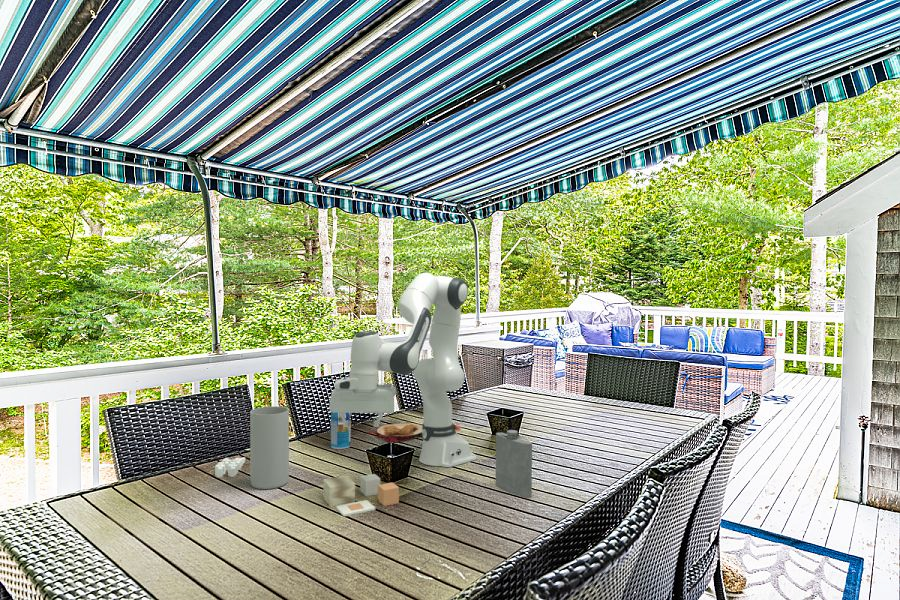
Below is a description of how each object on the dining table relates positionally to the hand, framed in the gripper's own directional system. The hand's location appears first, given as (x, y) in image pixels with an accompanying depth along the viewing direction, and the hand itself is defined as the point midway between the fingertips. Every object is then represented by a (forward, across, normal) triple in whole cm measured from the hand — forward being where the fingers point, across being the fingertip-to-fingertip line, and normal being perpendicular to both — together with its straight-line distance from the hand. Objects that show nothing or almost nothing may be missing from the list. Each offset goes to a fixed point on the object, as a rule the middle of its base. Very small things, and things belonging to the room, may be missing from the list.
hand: (360, 426), depth 174 cm
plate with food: (+19, -24, -77) cm, 83 cm away
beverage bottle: (+21, +3, -61) cm, 64 cm away
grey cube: (+23, -5, -8) cm, 25 cm away
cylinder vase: (+24, +28, -23) cm, 43 cm away
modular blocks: (+24, +43, -41) cm, 64 cm away
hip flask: (+21, -51, 0) cm, 55 cm away
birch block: (+24, +5, -4) cm, 25 cm away
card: (+24, +1, +5) cm, 24 cm away
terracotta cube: (+23, -10, +1) cm, 25 cm away
